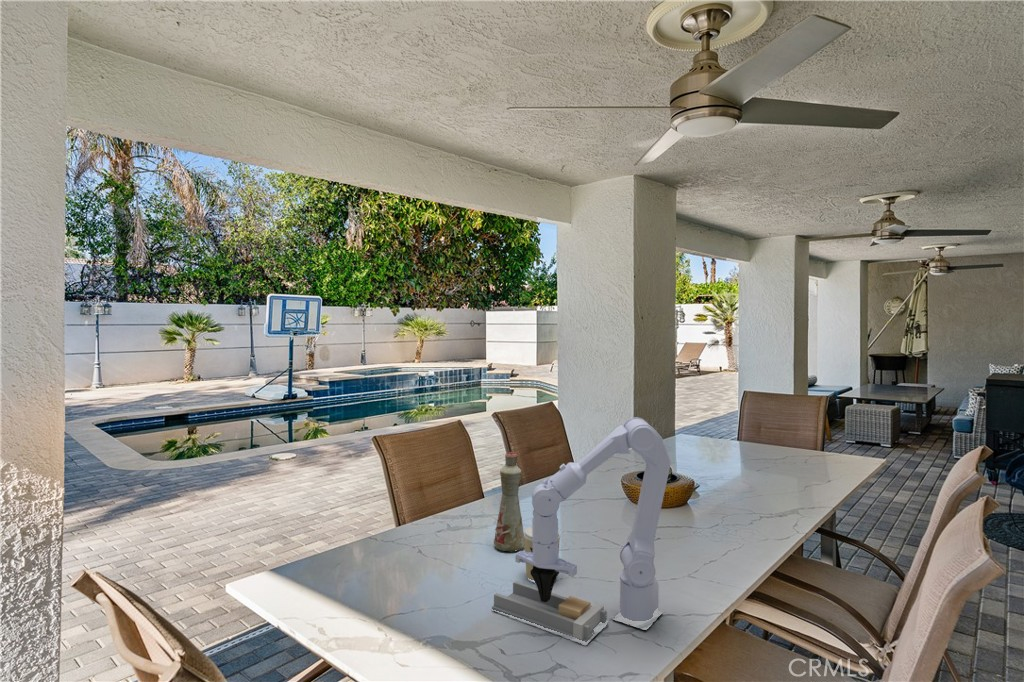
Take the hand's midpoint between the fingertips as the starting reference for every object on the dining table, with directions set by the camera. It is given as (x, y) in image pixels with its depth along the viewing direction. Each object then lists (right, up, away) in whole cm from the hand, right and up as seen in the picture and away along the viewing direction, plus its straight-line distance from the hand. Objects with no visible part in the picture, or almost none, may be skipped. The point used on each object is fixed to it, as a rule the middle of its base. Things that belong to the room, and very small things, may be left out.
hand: (545, 600), depth 128 cm
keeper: (+6, -3, -4) cm, 8 cm away
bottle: (-8, -3, +39) cm, 40 cm away
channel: (+1, -4, 0) cm, 4 cm away
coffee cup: (0, -3, +20) cm, 20 cm away
